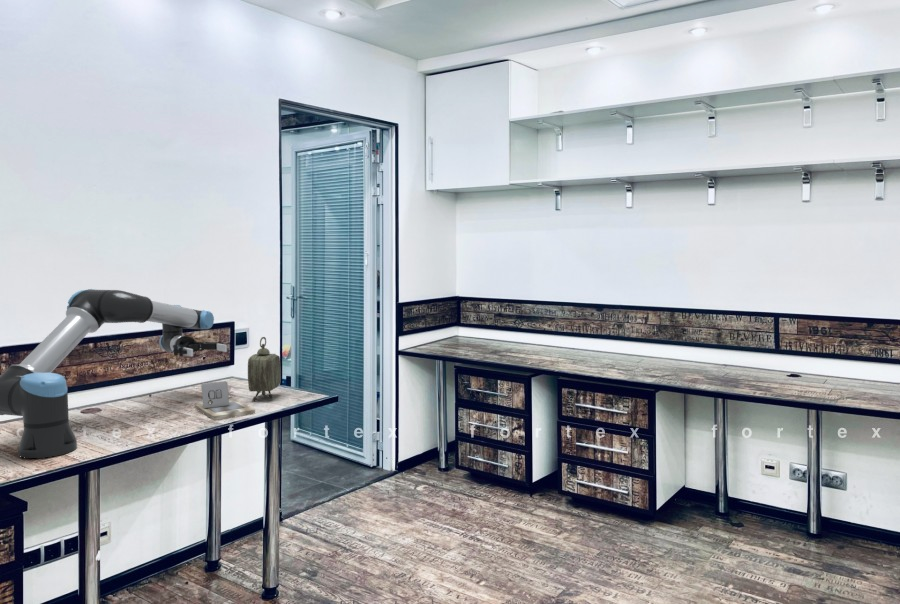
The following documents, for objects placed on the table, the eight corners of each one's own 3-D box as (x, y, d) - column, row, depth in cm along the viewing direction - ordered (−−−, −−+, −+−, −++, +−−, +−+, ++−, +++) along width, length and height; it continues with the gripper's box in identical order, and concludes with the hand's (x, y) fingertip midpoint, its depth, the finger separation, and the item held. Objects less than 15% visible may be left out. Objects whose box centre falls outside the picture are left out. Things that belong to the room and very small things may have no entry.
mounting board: (213, 420, 230) (213, 415, 229) (195, 408, 247) (195, 404, 247) (255, 413, 239) (255, 409, 238) (234, 402, 256) (234, 398, 256)
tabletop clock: (260, 394, 270) (258, 334, 268) (282, 394, 270) (280, 334, 268) (248, 402, 256) (246, 339, 254) (271, 402, 255) (269, 339, 253)
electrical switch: (203, 409, 239) (201, 384, 239) (201, 407, 244) (200, 382, 244) (229, 406, 243) (228, 381, 243) (227, 404, 248) (226, 380, 248)
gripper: (213, 350, 271) (239, 356, 257) (152, 358, 253) (177, 364, 239) (212, 332, 270) (238, 337, 256) (152, 339, 252) (176, 344, 238)
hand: (209, 350), depth 247 cm, fingers open, 13 cm apart
